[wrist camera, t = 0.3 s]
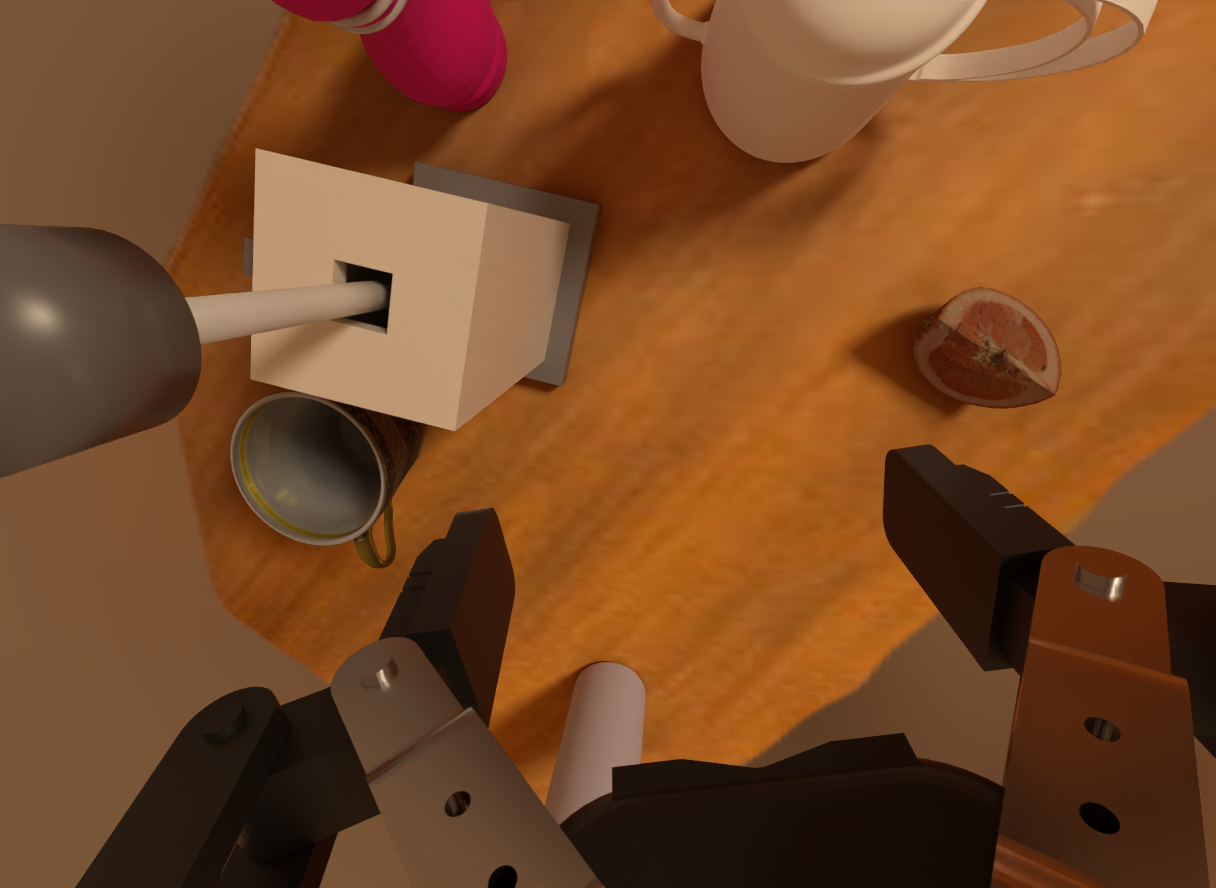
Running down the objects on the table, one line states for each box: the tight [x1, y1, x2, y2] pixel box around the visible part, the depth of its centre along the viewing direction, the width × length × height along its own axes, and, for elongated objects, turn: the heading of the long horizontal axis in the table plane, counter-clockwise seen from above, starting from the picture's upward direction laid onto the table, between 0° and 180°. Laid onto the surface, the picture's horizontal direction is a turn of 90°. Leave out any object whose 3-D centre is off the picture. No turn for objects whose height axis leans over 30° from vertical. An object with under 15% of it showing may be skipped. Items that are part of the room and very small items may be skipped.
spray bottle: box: [545, 662, 646, 825], centre depth 40 cm, size 6×6×22 cm
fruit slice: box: [913, 287, 1061, 409], centre depth 36 cm, size 8×7×5 cm
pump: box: [0, 224, 392, 478], centre depth 20 cm, size 4×4×21 cm
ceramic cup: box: [230, 390, 426, 568], centre depth 41 cm, size 13×10×10 cm
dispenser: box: [244, 148, 601, 431], centre depth 32 cm, size 12×13×18 cm
